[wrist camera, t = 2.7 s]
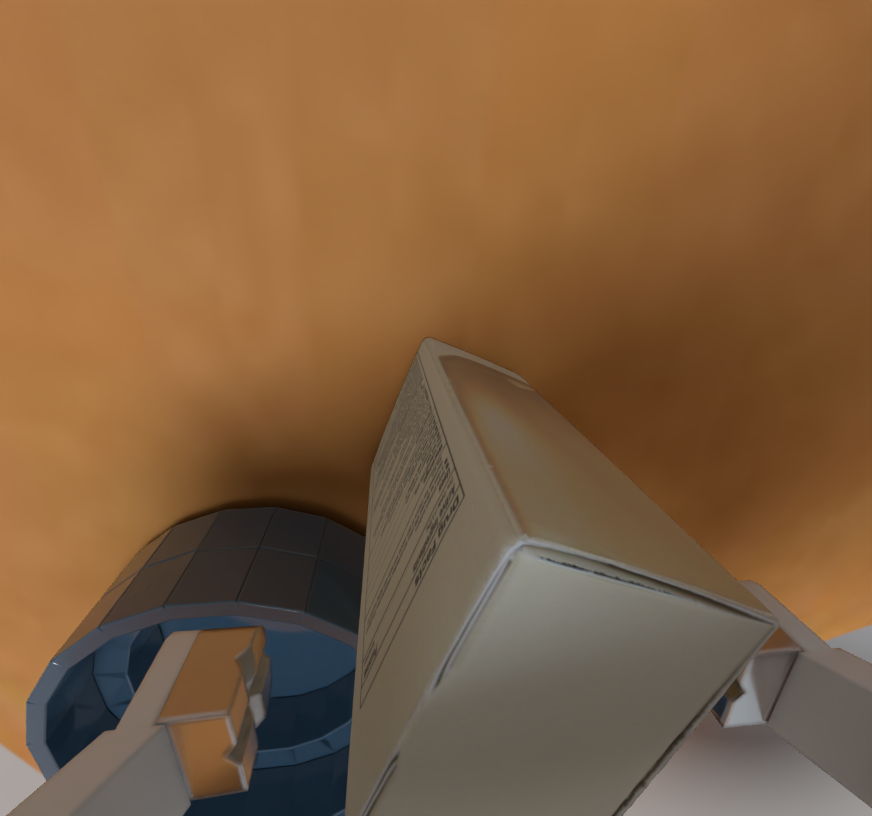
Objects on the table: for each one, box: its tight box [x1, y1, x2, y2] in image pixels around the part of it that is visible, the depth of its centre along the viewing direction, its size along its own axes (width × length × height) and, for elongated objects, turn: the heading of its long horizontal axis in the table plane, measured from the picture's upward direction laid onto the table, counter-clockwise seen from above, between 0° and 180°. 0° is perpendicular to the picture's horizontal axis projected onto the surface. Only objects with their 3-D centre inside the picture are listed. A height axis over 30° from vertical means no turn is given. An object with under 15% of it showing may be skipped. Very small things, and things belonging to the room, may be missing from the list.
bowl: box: [26, 507, 366, 816], centre depth 18 cm, size 13×13×6 cm
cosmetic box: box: [345, 338, 780, 816], centre depth 12 cm, size 6×4×12 cm
